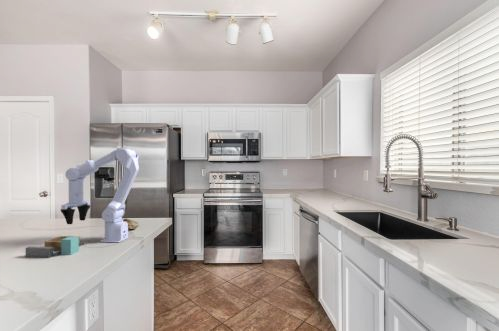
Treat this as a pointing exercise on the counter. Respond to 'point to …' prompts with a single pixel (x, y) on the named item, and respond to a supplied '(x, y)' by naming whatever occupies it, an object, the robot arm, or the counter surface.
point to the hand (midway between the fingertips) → (76, 222)
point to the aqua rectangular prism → (69, 245)
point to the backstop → (42, 251)
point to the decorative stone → (131, 224)
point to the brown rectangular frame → (56, 242)
